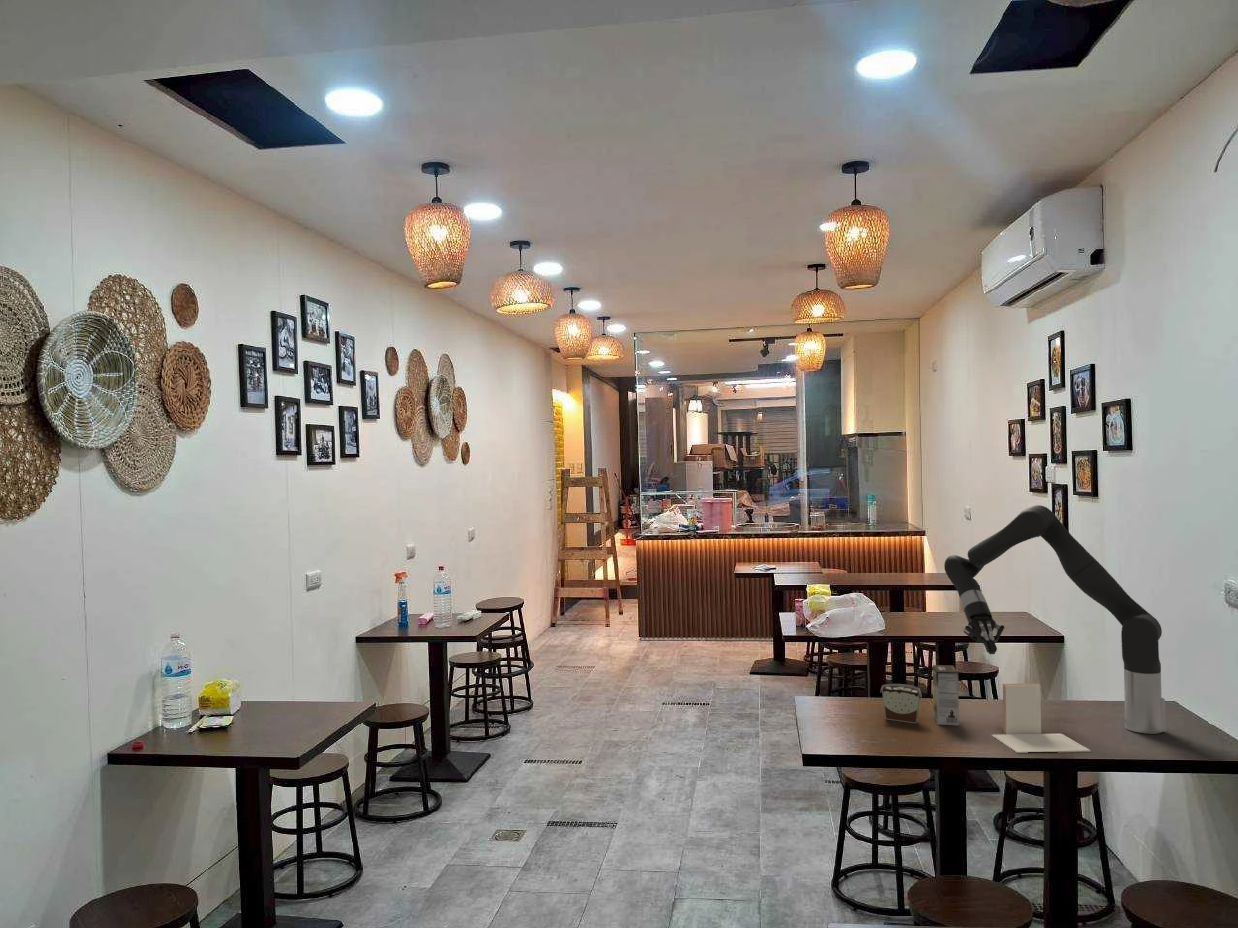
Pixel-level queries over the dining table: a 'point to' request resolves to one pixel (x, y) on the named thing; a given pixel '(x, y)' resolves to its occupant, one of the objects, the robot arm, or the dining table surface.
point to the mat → (1040, 743)
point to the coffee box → (945, 695)
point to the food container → (901, 702)
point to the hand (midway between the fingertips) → (993, 652)
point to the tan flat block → (1021, 708)
